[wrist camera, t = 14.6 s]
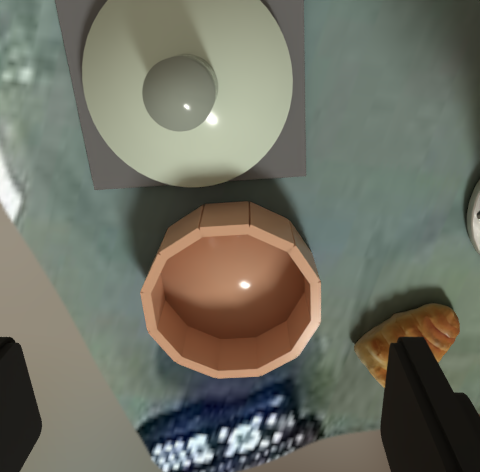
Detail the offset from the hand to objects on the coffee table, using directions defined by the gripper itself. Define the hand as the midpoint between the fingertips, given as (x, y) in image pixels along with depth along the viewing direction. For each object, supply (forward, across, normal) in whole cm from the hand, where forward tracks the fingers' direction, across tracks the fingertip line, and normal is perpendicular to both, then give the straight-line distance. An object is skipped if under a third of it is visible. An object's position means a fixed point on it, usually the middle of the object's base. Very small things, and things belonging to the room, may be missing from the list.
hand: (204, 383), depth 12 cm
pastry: (+28, -14, +19) cm, 36 cm away
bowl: (+27, +1, +11) cm, 29 cm away
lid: (+26, +4, -5) cm, 27 cm away
